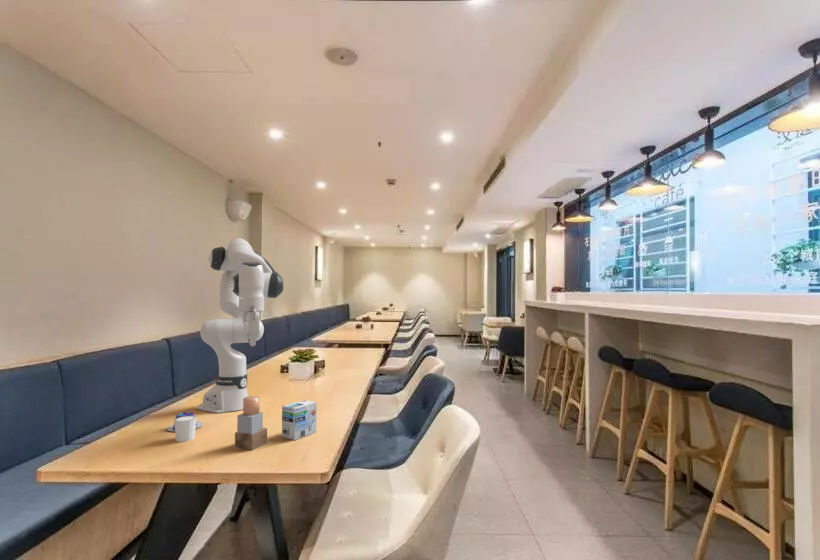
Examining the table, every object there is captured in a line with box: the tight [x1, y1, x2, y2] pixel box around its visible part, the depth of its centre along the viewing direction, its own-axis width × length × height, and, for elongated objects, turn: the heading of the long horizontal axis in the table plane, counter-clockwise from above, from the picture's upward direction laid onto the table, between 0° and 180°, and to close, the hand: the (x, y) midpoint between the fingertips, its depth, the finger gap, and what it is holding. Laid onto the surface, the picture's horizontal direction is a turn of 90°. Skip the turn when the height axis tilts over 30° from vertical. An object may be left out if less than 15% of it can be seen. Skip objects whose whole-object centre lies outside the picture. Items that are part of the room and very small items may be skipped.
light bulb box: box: [281, 399, 317, 441], centre depth 151 cm, size 11×7×11 cm, turn 148°
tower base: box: [234, 427, 268, 451], centre depth 140 cm, size 7×7×5 cm
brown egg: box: [242, 395, 260, 416], centre depth 141 cm, size 5×5×5 cm
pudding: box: [166, 411, 204, 432], centre depth 161 cm, size 12×12×5 cm
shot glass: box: [173, 415, 198, 443], centre depth 148 cm, size 7×7×7 cm
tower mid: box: [236, 411, 264, 434], centre depth 140 cm, size 6×6×6 cm
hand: (251, 344), depth 156 cm, fingers open, 8 cm apart
